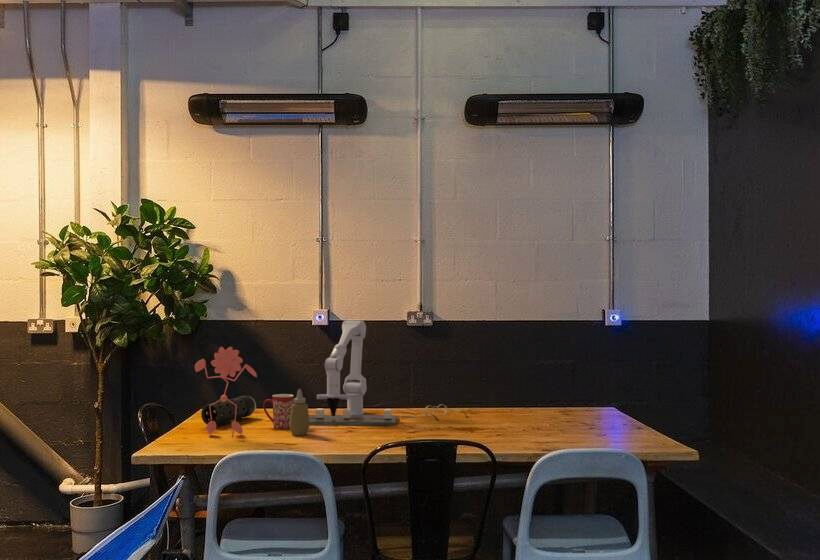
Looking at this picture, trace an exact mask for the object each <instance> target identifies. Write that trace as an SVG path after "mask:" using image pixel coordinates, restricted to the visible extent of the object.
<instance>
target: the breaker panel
mask: <svg viewBox="0 0 820 560" xmlns="http://www.w3.org/2000/svg"><path fill="white" fill-rule="evenodd" d="M397 420H398V415H396V414H395V415H394V414H392V417H391V419H384V414H382V415H381V414H380V415H379V414H378V415H377V414H373V415H372V414H363V415H351V417H350V418H343V414H335V416H332V415H331V414H324V417H323V418H316V414H309V424H310V426H350V427H351V426H355V427H356V426H358V427H361V426H363V427H364V426H365V427H366V426H370V427H373V426H376V427H395V425H396V423H397Z"/></svg>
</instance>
